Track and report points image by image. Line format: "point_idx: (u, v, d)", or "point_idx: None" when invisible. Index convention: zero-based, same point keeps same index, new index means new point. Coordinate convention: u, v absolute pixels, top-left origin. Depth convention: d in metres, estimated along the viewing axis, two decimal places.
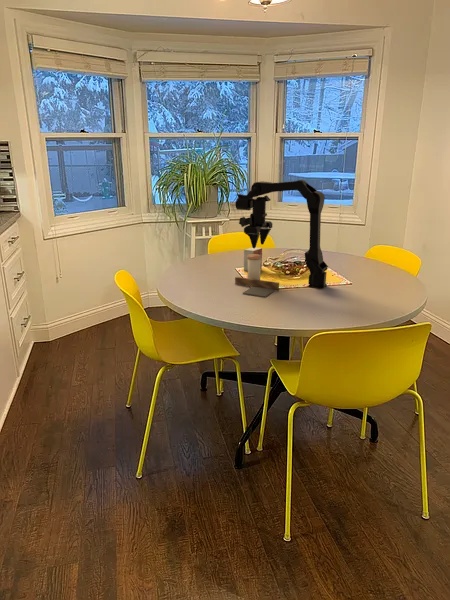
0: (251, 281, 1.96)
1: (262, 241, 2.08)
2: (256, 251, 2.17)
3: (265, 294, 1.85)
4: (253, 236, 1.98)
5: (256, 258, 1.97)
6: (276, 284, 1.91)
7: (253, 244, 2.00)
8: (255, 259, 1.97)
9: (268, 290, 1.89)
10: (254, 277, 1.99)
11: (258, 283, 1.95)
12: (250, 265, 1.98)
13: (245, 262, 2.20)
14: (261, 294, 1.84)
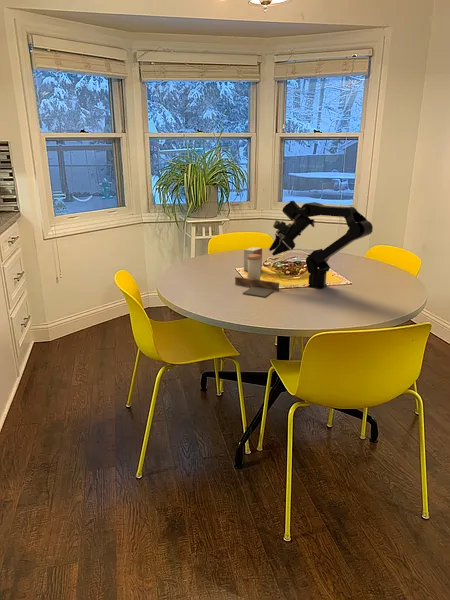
0: (251, 281, 1.96)
1: (272, 248, 2.03)
2: (256, 251, 2.17)
3: (265, 294, 1.85)
4: (282, 246, 1.93)
5: (256, 258, 1.97)
6: (276, 284, 1.91)
7: (276, 252, 1.94)
8: (255, 259, 1.97)
9: (268, 290, 1.89)
10: (254, 277, 1.99)
11: (258, 283, 1.95)
12: (250, 265, 1.98)
13: (245, 262, 2.20)
14: (261, 294, 1.84)
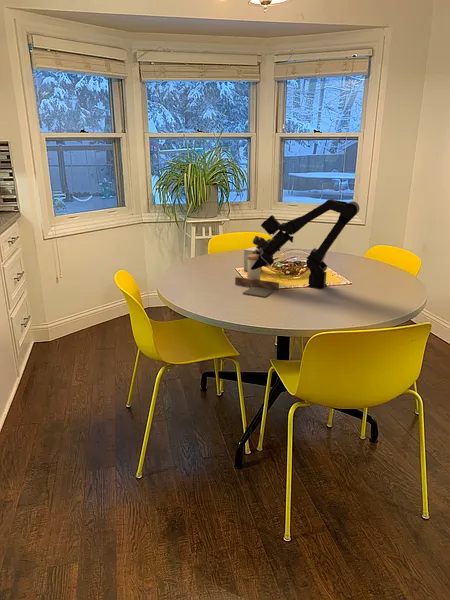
0: (251, 281, 1.96)
1: None
2: None
3: (265, 294, 1.85)
4: (261, 261, 1.96)
5: (256, 258, 1.97)
6: (276, 284, 1.91)
7: (254, 266, 1.97)
8: (255, 259, 1.97)
9: (268, 290, 1.89)
10: (254, 277, 1.99)
11: (258, 283, 1.95)
12: (250, 265, 1.98)
13: (245, 262, 2.20)
14: (261, 294, 1.84)
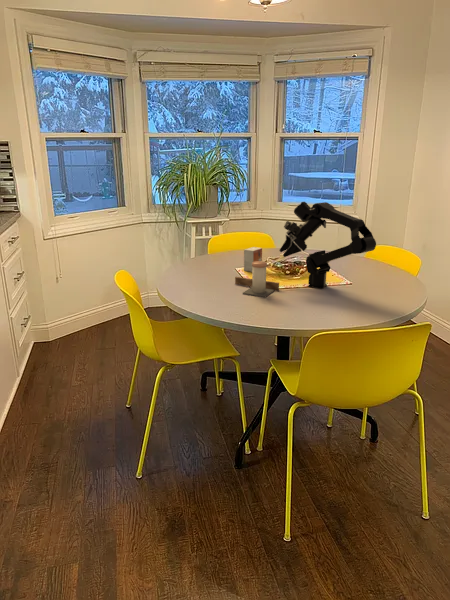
0: (251, 281, 1.96)
1: (282, 249, 1.99)
2: (256, 251, 2.17)
3: (265, 294, 1.85)
4: (293, 248, 1.89)
5: (261, 266, 1.82)
6: (276, 284, 1.91)
7: (287, 253, 1.90)
8: (260, 267, 1.82)
9: (268, 290, 1.89)
10: (259, 286, 1.85)
11: None
12: (255, 273, 1.84)
13: (245, 262, 2.20)
14: (261, 294, 1.84)
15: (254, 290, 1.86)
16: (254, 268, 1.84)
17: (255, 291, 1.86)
